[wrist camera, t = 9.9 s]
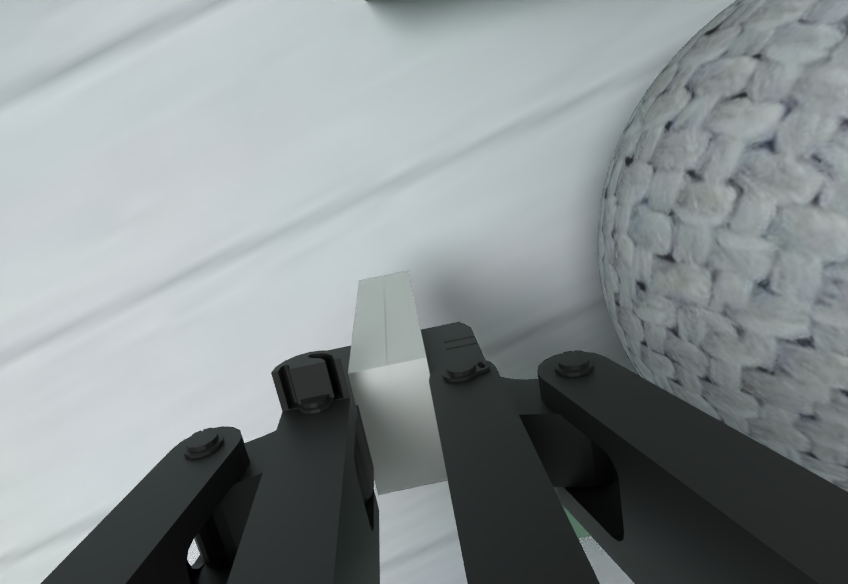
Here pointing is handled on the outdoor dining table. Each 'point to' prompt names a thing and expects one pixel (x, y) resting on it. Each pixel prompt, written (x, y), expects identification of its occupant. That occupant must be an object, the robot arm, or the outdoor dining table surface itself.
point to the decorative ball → (741, 228)
